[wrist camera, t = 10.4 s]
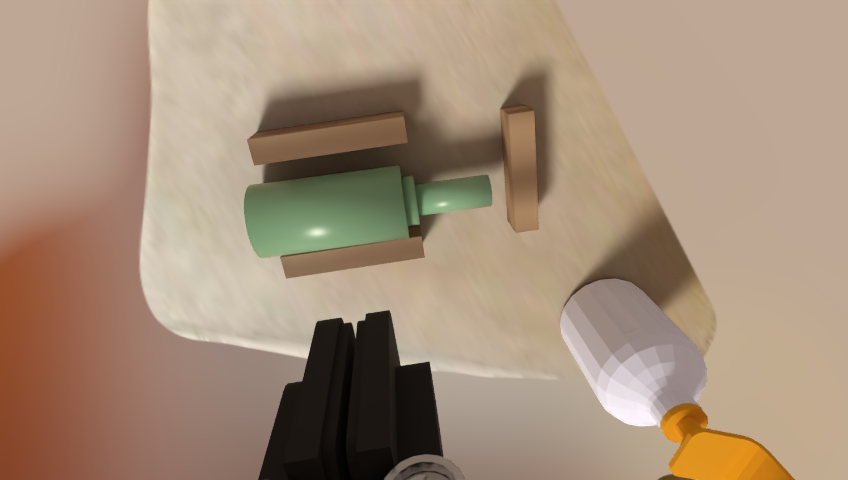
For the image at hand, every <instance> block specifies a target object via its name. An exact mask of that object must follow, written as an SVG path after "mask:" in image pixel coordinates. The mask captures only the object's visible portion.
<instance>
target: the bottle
mask: <svg viewBox="0 0 848 480" xmlns="http://www.w3.org/2000/svg"><path fill="white" fill-rule="evenodd" d="M491 205H492V190H491V184H490V180H489V177H488V175H480V176H473V177H465V178H458V179H450V180H443V181H436V182H428V183H421V184H414V178H413V176H408V177H401V173H400V167H399V165H397V166H389V167H382V168H374V169H367V170H359V171H352V172H344V173H337V174H329V175H322V176H315V177H307V178H300V179H292V180H285V181H277V182H270V183H262V184H255V185H250V186H249V187H248V188H247V190H246V193H245V199H244V214H245V222H246V228H247V232H248V236H249V239H250V242H251V245H252V247H253V249H254V251H255V252H256V254H257V255H258V256H259V257H260V258H268V257H275V256H282V255H290V254H297V253H304V252H312V251H319V250H326V249H333V248H341V247H348V246H355V245H363V244H370V243H377V242H385V241H392V240H399V239H406V238H409V231H408V226H411V225H419V224H420V222H419V216H422V215H429V214H436V213H444V212H451V211H458V210H466V209H473V208H481V207H488V206H491Z"/></svg>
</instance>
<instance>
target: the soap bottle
mask: <svg viewBox="0 0 848 480" xmlns="http://www.w3.org/2000/svg"><path fill="white" fill-rule="evenodd" d="M560 327H561V334H562V337H563V339H564V340H565V342H566V344H567V346H568V347H569V349H570V351H571V353H572V354H573V356H574V358H575V359H576V361H577V363H578V365H579V366H580V368H581V370H582V372H583V373H584V375H585V377H586V378H587V380H588V382H589V384H590V385H591V387H592V389H593V390H594V392H595V394H596V396H597V398H598V399H599V401H600V402H601V404H602V405H603V407H604V408H605V410H606V411H607V412H609V413H611V414H612V415H613V416H615V417H616V418H618V419H620V420H621V421H623V422H625V423H626V424H631V425H636V426H652V425H658V426H659V428H660V429H661V431H662V432H663V433H664V434H665V436H666V437H667V438H668V439H669V440H671V441H673V442H678V443H680V442H681V445H680V447H679V449H678V450H677V452H676V453H675V455H674V457H673V458H672V459H671V461H670V463H669V469H670V471H671V472H672V473H673V474H674V475H675V476H679V477H685V478H691V479H697V480H795V479H794V478H793V477H792V476H791V475H790V474H789V473H788V471H787V470H786V469H785V468H784V467H783V466H782V465H781V464H780V463H779V462H778V461H777V460H776V458H775V457H774V456H773V455H772V454H771V453H770V452H769V451H768V450H767V449H766V448H765V447H764V446H762V445H761V444H759V443H758V442H756V441H755V440H753V439H751V438H748V437H746V436H741V435H737V434H731V433H726V432H721V431H716V430H711V429H706V426H707V424H708V418H707V416H706V414H705V413H704V412H703V410H702V409H701V407H700V406H699V405H698V404H697V401H698V399H699V398H700V396H701V394H702V391H703V389H704V387H705V384H706V381H707V380H706V377H707V374H706V369H707V368H706V365H705V362H704V359H703V357H702V355H701V353H700V351H699V349H698V347H697V345H696V344H695V343H694V342H693V341H692V340H691V339H690V338H689V337H688V336H687V335H686V334H685V333H684V332H683V331H682V330H681V329H680V328H679V327H678V326H677V325H676V324H675V323H674V322H673V321H672V320H671V319H670V318H669V317H668V316H667V315H666V314H665V313H664V312H663V311H662V310H661V309H660V308H659V307H658V306H657V305H656V304H655V303H654V302H653V301H652V300H651V299H650V298H649V297H648V296H647V295H646V294H645V293H644V292H643V291H642V290H641V289H640V288H638V287H637V286H635V285H634V284H633V283H631V282H628V281H624V280H620V279H615V278H614V279H603V280H598V281H595V282H593V283H590V284H588V285H585V286H584V287H582V288H581V289H580V290H579V291H577V292H576V293H575V294H574V295H572V296H571V298H570V299H569V301H568V302H567V304H566V305H565V307H564V308H563V312H562V316H561V320H560Z"/></svg>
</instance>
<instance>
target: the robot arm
mask: <svg viewBox="0 0 848 480" xmlns="http://www.w3.org/2000/svg"><path fill="white" fill-rule="evenodd" d="M258 480H466V479H465V477H464V475H463V474H462V472H461V470H460V468H459V467H458V466H456V465H455V464H454V463H453V462H452V461H450V460H448V459H446V458H444V457H443V450H442V443H441V435H440V428H439V421H438V414H437V407H436V400H435V393H434V387H433V380H432V374H431V368H430V362H424V363H417V364H411V365H405V366H401V365H400V360H399V355H398V350H397V344H396V339H395V334H394V328H393V323H392V318H391V313H390V311H389V310H388V311H381V312H375V313H368V314H366V318H365V320H364V321H358V323H357V332H356V338H355V334H354V329H353V326H352V323H344V322H343V320H342V318H336V319H329V320H323V321H318V322H317V323H316V327H315V331H314V335H313V339H312V343H311V347H310V352H309V356H308V361H307V364H306V368H305V373H304V377H303V381H302V382H295V383H288V384H287V385H286V386H285V389H284V391H283V395H282V398H281V402H280V405H279V409H278V413H277V416H276V419H275V423H274V427H273V430H272V433H271V437H270V440H269V444H268V447H267V451H266V454H265V458H264V461H263V465H262V468H261V472H260V476H259V479H258Z"/></svg>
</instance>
